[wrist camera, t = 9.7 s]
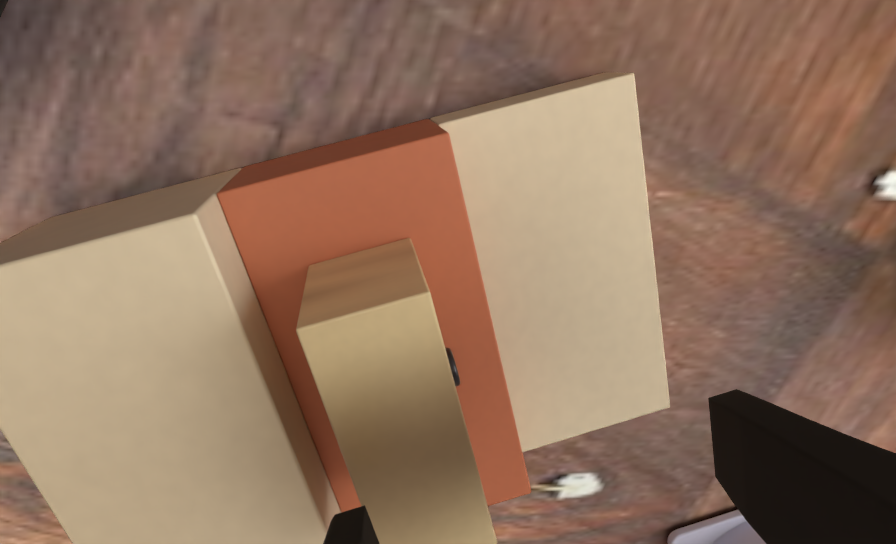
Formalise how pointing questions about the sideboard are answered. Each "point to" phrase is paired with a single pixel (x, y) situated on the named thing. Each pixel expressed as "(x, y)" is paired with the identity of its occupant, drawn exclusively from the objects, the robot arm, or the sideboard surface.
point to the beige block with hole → (393, 396)
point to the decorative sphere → (2, 5)
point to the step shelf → (278, 305)
